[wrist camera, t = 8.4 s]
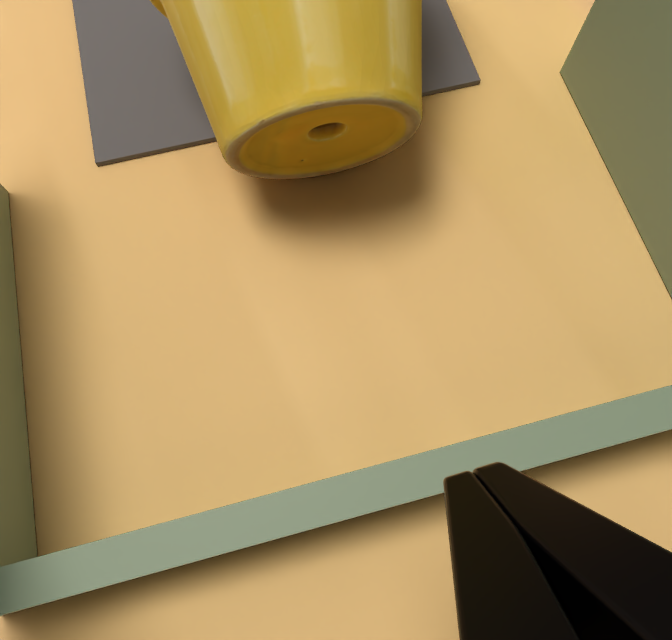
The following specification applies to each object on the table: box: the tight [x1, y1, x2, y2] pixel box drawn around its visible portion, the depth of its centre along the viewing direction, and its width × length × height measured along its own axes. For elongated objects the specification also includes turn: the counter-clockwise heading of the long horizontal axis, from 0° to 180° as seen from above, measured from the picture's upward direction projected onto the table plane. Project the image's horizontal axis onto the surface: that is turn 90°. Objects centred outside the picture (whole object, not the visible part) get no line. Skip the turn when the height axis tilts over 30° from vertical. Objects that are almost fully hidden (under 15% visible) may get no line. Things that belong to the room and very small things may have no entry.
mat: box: [72, 0, 480, 167], centre depth 25 cm, size 12×16×1 cm
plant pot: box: [150, 0, 422, 179], centre depth 19 cm, size 10×10×10 cm
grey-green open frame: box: [0, 0, 672, 616], centre depth 15 cm, size 15×25×12 cm, turn 105°
